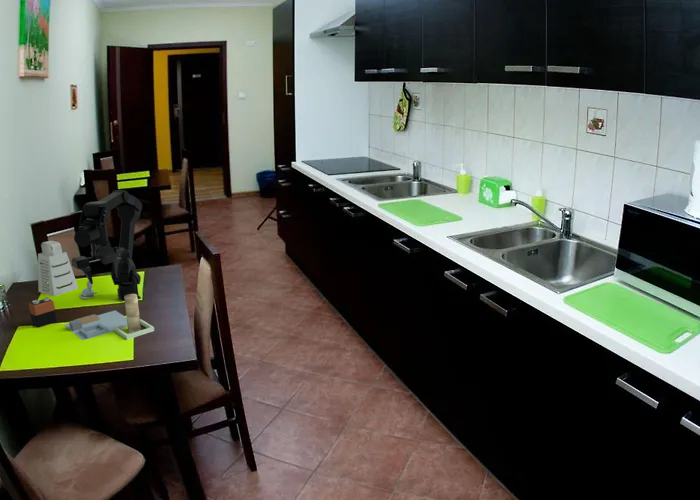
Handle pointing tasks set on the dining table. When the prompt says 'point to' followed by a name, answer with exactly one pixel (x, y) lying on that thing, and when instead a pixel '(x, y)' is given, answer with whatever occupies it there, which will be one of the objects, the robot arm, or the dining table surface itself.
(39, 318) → the battery
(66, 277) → the grater
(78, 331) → the board
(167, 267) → the dining table surface
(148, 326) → the tray
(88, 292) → the pacifier
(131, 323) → the dowel
